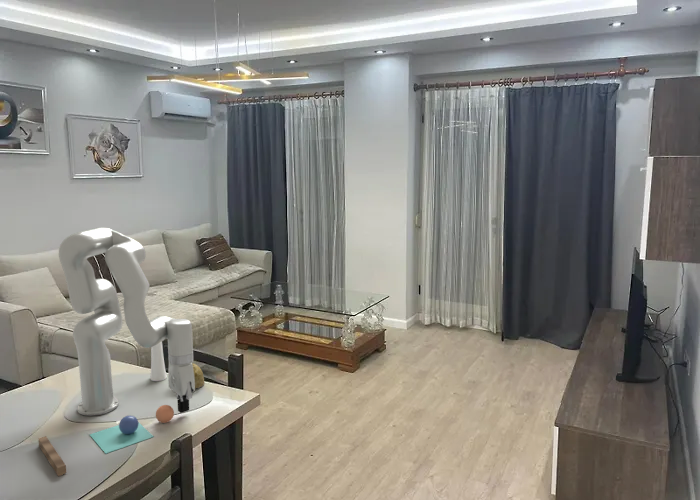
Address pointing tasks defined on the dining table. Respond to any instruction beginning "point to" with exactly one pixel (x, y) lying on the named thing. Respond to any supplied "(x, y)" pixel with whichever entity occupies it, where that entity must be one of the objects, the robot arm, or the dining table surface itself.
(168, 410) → the orange ball
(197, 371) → the rock
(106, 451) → the teal mark
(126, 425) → the navy ball
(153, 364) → the cosmetic bottle
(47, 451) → the walnut rail
